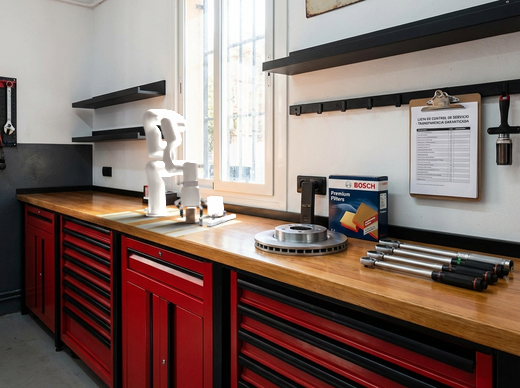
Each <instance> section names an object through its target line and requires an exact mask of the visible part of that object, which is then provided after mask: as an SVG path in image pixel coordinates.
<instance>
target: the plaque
mask: <svg viewBox="0 0 520 388" xmlns="http://www.w3.org/2000/svg"><path fill="white" fill-rule="evenodd" d="M197 216H198V215H197V206H195V207H186V208H185V224H195V223H196V222H197V220H198V219H197V218H198V217H197Z"/></svg>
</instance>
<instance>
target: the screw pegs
mask: <svg viewBox="0 0 520 388" xmlns="http://www.w3.org/2000/svg"><path fill="white" fill-rule="evenodd" d="M225 216H227V210H223V213H222V217H225ZM198 219H199V223H198V224H199V226H200V227H201V226H202V227H203V226H204V225H203V217H199V218H198ZM215 219H216V217H215V214H212V217H211V221H212V220H215Z"/></svg>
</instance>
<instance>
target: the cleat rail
mask: <svg viewBox="0 0 520 388" xmlns="http://www.w3.org/2000/svg"><path fill="white" fill-rule="evenodd" d="M236 216H237V215H236V213H235V214H234V213H231V214H227V215H226V216H225V217H223V216H222V217H219V218H215V220H212V219H211V220H210V221H207V222H206V226H207V227H213V226H217V225H219V224H222V223H225V222H227V221H231V220H233V219H236Z"/></svg>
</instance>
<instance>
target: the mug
mask: <svg viewBox="0 0 520 388" xmlns="http://www.w3.org/2000/svg"><path fill="white" fill-rule="evenodd" d="M207 201H208V203H207V216H208V217H211V218H212V214H215V218H216V217H221V216H222V217H223V211H224V209H225V208H224V203H223V197H222V196H209V197H207Z"/></svg>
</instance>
